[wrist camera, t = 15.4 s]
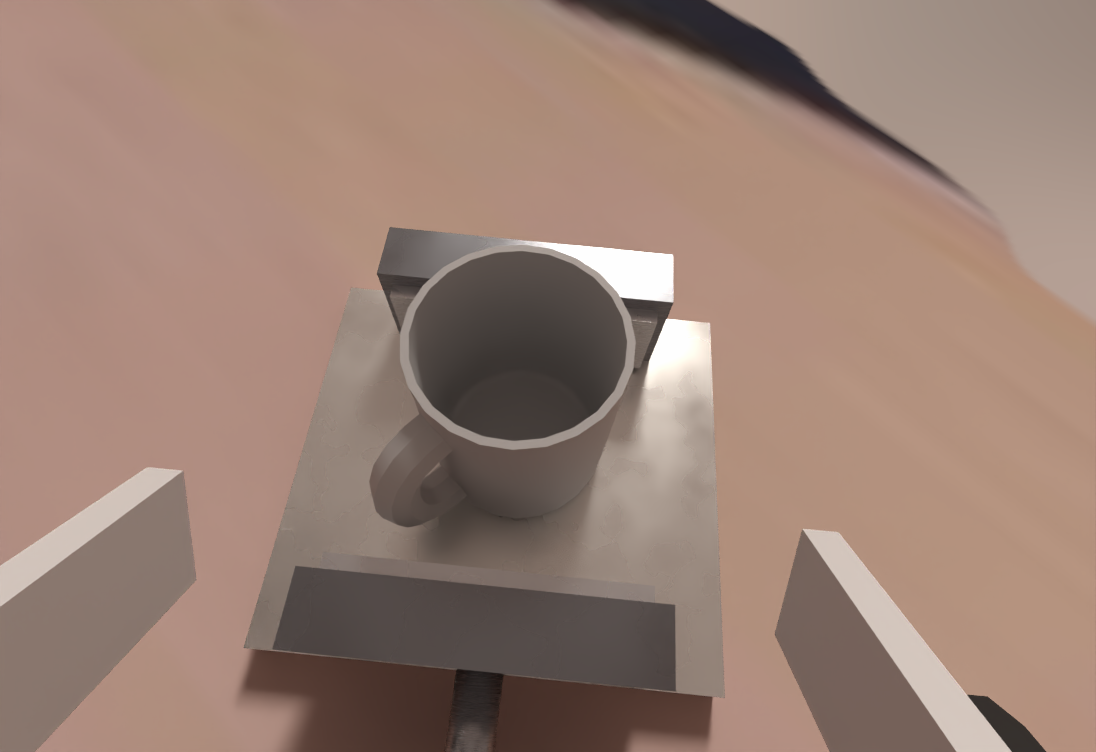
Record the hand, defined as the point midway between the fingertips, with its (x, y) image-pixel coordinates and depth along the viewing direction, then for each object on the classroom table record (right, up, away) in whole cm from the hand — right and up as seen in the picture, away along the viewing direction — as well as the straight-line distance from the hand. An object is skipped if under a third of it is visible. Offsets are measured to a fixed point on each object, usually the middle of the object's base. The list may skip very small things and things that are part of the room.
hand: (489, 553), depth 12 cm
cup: (-1, 0, +13) cm, 13 cm away
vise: (-1, -3, +13) cm, 13 cm away
